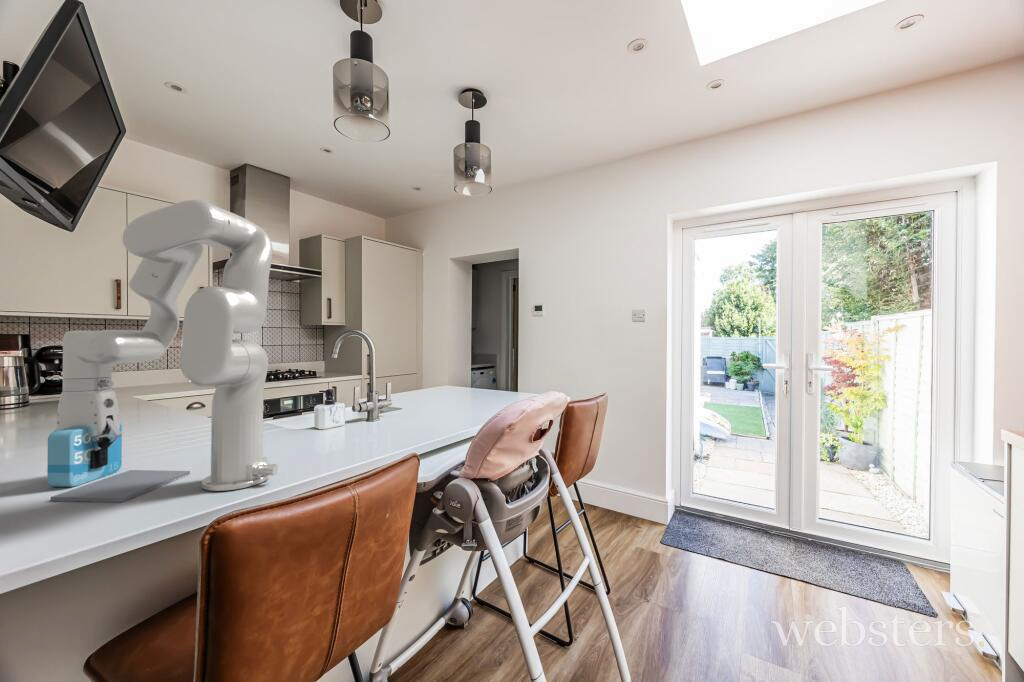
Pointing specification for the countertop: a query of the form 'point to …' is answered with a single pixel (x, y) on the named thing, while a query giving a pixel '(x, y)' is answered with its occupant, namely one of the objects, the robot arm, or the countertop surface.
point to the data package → (77, 458)
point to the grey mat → (121, 486)
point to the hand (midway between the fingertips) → (86, 465)
